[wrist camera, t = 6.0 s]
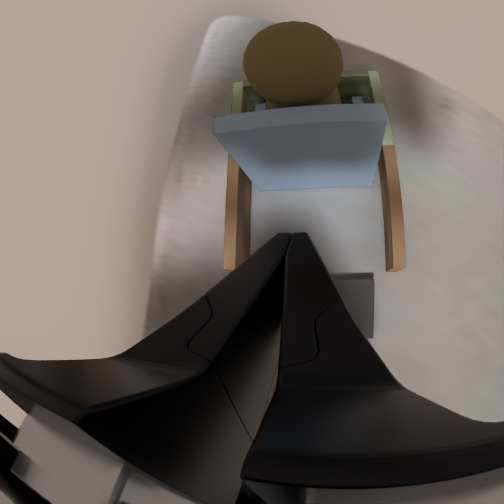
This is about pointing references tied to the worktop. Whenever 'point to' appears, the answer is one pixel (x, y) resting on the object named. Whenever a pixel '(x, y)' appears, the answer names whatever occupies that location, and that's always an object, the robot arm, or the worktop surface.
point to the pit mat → (359, 301)
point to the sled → (306, 144)
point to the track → (371, 88)
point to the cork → (294, 65)
